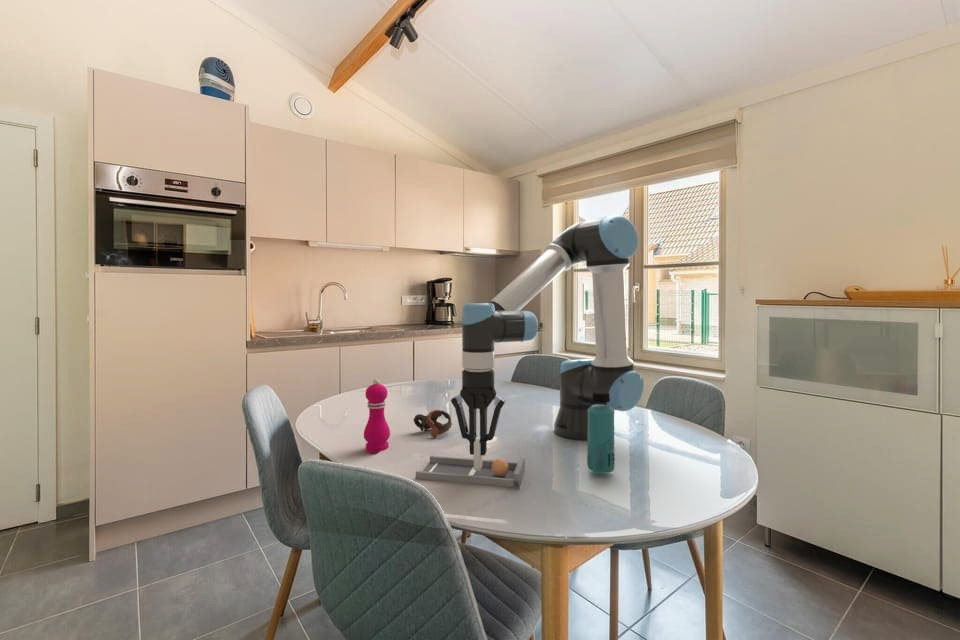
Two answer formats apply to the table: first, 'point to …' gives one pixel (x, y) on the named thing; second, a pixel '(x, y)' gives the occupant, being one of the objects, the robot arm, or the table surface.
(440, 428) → the brown pretzel knot
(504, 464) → the ball
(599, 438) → the beverage bottle
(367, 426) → the pepper mill
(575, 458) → the table surface
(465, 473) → the lane
